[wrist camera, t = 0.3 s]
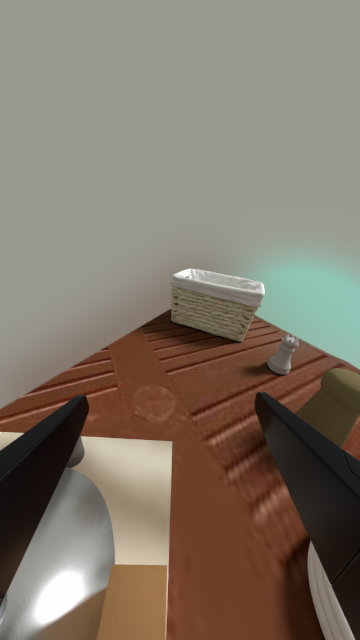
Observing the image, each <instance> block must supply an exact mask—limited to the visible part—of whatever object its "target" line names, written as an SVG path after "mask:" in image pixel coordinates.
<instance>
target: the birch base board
mask: <svg viewBox="0 0 360 640" xmlns="http://www.w3.org/2000/svg"><path fill="white" fill-rule="evenodd" d="M23 434H24V433H10V432H0V450H2V449H3V448H4V447H6V446H7V445H9V444H10V443H11V442H13V441H14V440H16V439H17V438H18V437H20V436H21V435H23ZM171 464H172V442H171V441H153V440H135V439H117V438H99V437H81V435H80V437H79V439H78V442H77V444H76V447H75V449H74V451H73V453H72V455H71V457H70V459H69V462H68V464H67V466H66V467H68V468H71V469H74V470H77V471H79V472H80V473H82V474H84V475H86V476H87V477H88V478H89V479H90V480H91V481H93V483H94V484H95V485H96V486H97V488H98V489H99V490H100V492H101V494H102V496H103V498H104V500H105V502H106V505H107V508H108V511H109V514H110V519H111V523H112V528H113V533H114V543H115V554H116V564H125V565H167V591H166V621H165V640H166V628H167V596H168V563H169V530H170V497H171Z"/></svg>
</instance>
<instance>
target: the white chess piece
mask: <svg viewBox="0 0 360 640" xmlns="http://www.w3.org/2000/svg"><path fill="white" fill-rule="evenodd" d="M289 336H290V335H285V336H284V337H283V338H281V341H282V344H280V348H279V350H278V352H277V353H276V354H275V355H273V356H272V357H270V359H269V361H268V362H267V363H268V367H269V368H270V369H271V370H272V371H273V372H275V373H277V374H282V375H284V374H287V373H289V370H290V368H291V365H290V358H291V355H292V352H294V351H295V350H294V348H295V347H298V346H299V343H298V341H299V340H298V338H295V339H294V336H291V337H289Z"/></svg>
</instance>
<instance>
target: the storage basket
mask: <svg viewBox="0 0 360 640" xmlns="http://www.w3.org/2000/svg"><path fill="white" fill-rule="evenodd" d="M170 284H171V285H172V302H171V303H172V306H171V314H172V315H171V317H172V318H171V320H172V321H173V322H175V323H178V324H181V325H185V326H189V327H192V328H195V329H199V330H202V331H206V332H208V333H210V334H213V335H218V336H221V337H222V336H223V337H226V338H229V339H231V340H236V341H239V342H242V341H243V340H244V337H245V334H246V333H247V331H248V328H249V326H250V324H251V322H252V320H253V316H254V315H255V313H256V311H257V309H258V308H259V307H260V306H261V304H262V300H263V297H264V295H265V290H264V285H263V284H262V283H261V282H256V281H252V280H249V279H244V278H239V277H234V276H229V275H223V274H218V273H213V272H209V271H203V270H196V269H192V268H190V269H187V270H183V271H181V272H178V273H176V274H174V275H172V278H171V282H170Z"/></svg>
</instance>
